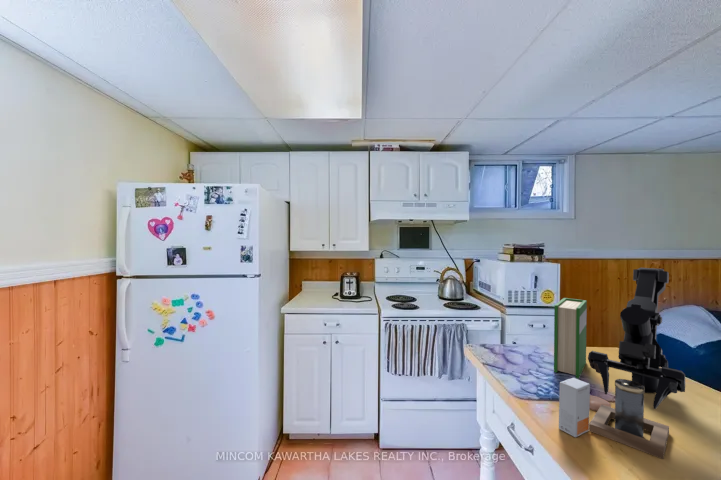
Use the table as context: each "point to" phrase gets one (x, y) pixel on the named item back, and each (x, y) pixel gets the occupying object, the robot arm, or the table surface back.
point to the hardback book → (570, 336)
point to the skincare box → (574, 406)
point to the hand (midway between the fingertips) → (629, 400)
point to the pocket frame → (651, 446)
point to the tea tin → (629, 406)
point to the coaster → (597, 403)
